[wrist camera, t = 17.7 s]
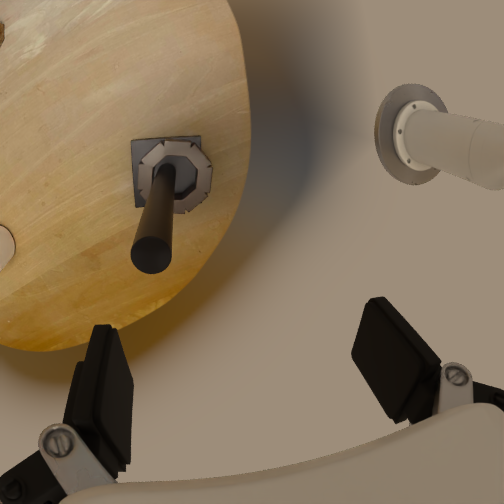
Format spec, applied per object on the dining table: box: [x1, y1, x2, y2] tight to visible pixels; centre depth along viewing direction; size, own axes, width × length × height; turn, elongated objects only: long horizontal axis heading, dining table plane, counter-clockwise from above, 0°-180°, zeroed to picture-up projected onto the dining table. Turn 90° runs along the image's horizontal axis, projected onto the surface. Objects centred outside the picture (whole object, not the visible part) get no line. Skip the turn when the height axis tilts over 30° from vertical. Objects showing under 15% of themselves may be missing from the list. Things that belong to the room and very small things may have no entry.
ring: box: [137, 139, 213, 214], centre depth 37 cm, size 9×9×3 cm
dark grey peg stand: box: [131, 136, 202, 274], centre depth 28 cm, size 9×9×25 cm
